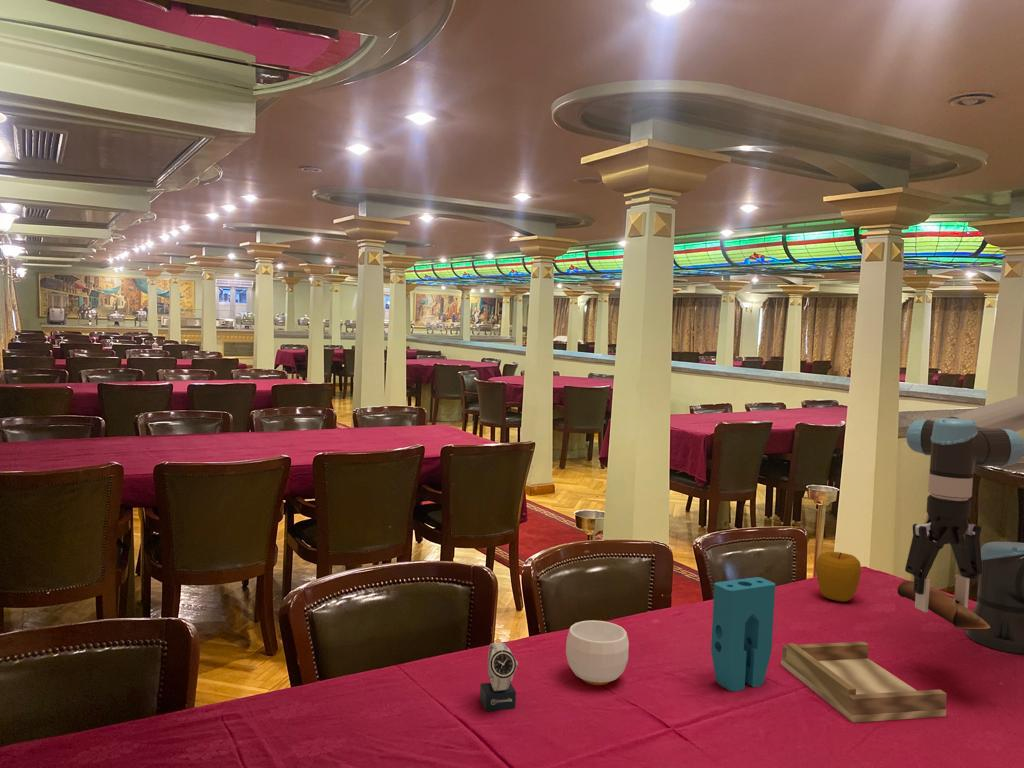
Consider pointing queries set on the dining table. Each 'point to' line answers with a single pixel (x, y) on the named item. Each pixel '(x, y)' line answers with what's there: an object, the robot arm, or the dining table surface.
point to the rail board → (859, 683)
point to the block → (742, 631)
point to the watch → (499, 679)
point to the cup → (597, 651)
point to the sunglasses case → (946, 608)
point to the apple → (838, 575)
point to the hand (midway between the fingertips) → (940, 608)
